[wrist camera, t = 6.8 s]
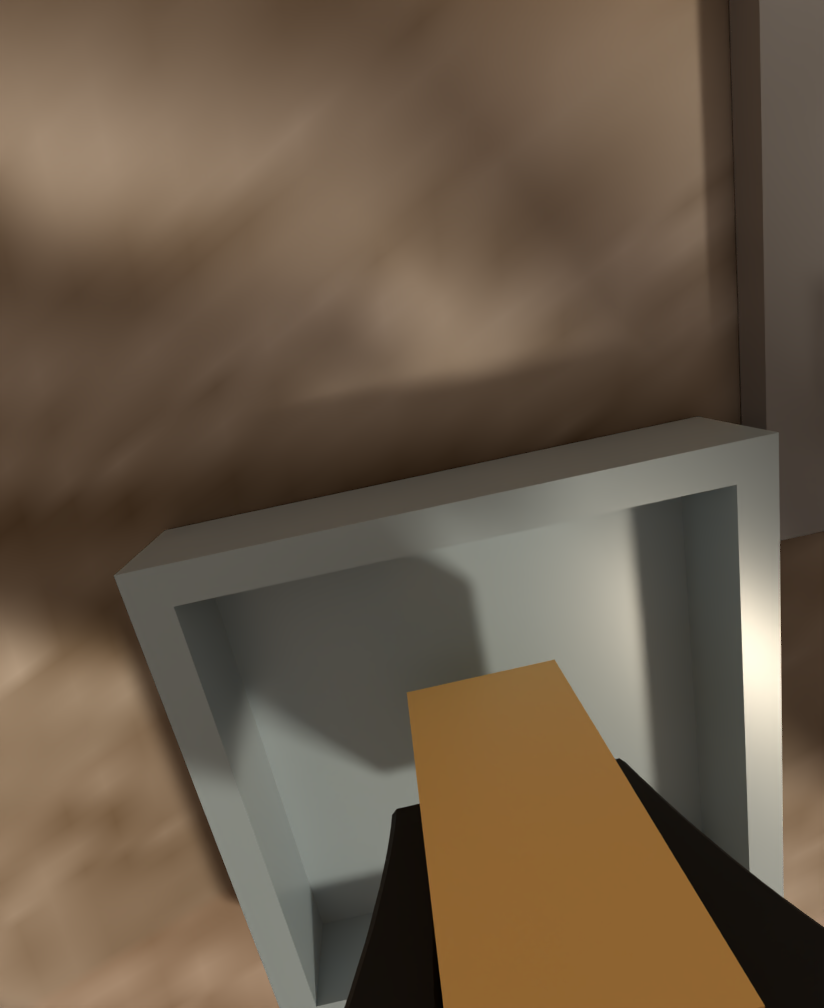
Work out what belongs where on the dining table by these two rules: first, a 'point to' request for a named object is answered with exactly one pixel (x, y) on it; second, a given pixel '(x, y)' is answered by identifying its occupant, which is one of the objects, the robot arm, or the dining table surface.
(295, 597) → the parts tray
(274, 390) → the dining table surface
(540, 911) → the block
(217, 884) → the dining table surface
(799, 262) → the panel
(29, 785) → the dining table surface
